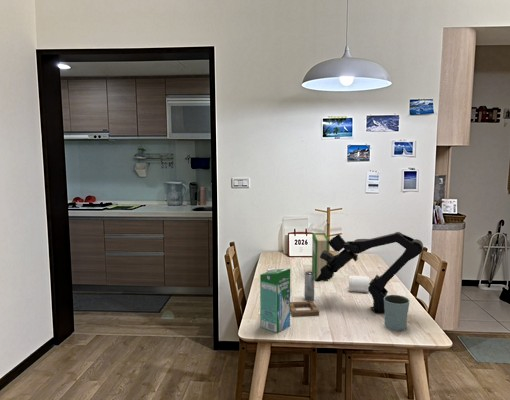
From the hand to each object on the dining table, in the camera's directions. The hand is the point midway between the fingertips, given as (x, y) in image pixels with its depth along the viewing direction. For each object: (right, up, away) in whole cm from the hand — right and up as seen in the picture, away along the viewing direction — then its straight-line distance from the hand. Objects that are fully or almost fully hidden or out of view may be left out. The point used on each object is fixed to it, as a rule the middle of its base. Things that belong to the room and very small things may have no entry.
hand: (318, 278), depth 195 cm
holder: (-9, -13, -11) cm, 19 cm away
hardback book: (+7, -7, +39) cm, 40 cm away
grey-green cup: (+28, -15, -28) cm, 42 cm away
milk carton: (-23, -15, -27) cm, 38 cm away
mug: (+24, -10, +17) cm, 31 cm away
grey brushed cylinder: (-4, -11, +3) cm, 12 cm away
